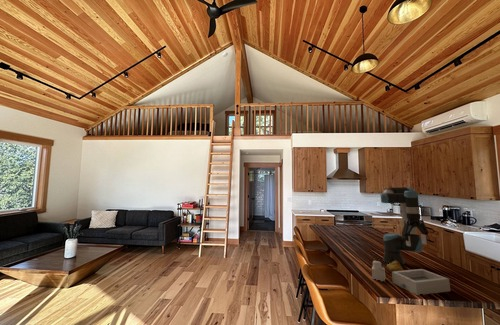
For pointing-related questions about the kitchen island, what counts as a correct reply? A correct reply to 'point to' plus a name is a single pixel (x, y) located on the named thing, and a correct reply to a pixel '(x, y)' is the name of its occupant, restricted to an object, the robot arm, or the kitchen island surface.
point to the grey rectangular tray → (421, 281)
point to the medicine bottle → (378, 270)
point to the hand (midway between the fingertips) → (416, 245)
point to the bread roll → (394, 266)
